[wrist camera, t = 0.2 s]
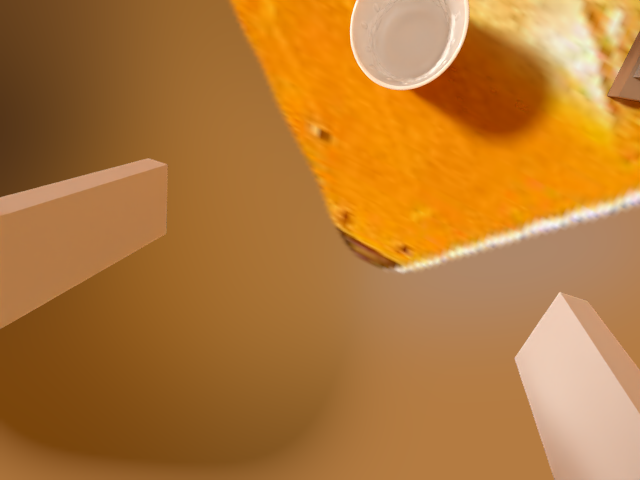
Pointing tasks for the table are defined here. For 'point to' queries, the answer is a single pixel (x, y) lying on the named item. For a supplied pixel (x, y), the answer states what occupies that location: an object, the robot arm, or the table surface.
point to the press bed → (628, 76)
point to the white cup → (407, 39)
